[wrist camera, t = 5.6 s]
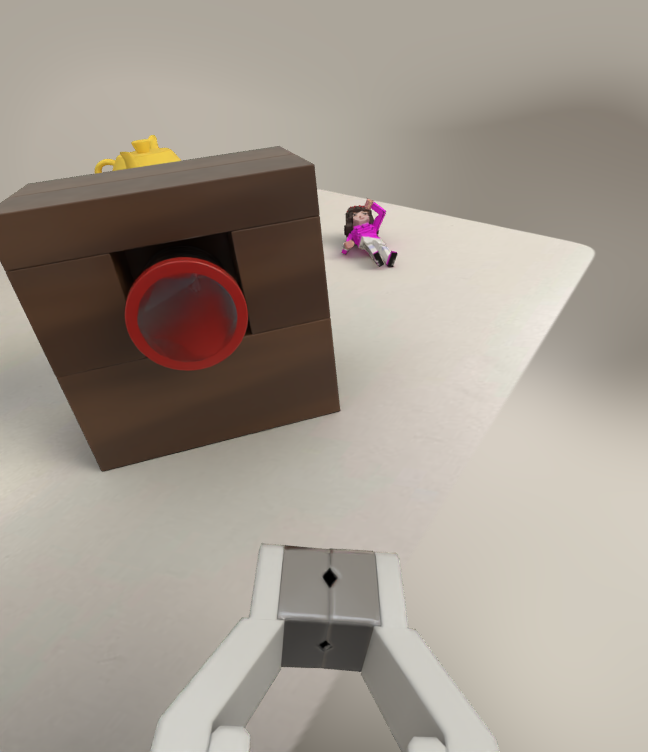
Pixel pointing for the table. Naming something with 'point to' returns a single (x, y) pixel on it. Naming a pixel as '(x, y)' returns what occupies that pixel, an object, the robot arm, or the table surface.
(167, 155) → the teapot
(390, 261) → the character figurine
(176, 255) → the knob
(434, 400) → the table surface
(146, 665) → the table surface
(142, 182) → the control box
